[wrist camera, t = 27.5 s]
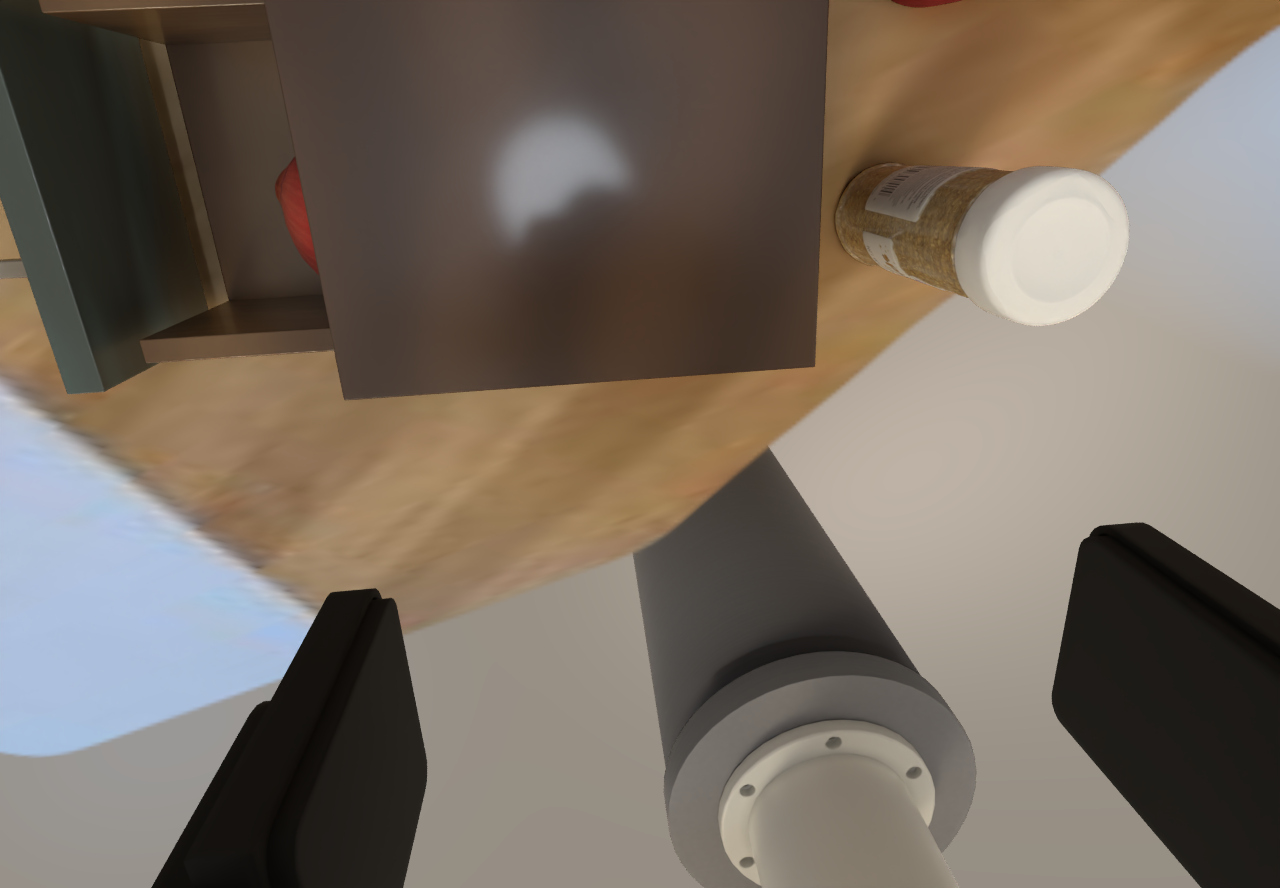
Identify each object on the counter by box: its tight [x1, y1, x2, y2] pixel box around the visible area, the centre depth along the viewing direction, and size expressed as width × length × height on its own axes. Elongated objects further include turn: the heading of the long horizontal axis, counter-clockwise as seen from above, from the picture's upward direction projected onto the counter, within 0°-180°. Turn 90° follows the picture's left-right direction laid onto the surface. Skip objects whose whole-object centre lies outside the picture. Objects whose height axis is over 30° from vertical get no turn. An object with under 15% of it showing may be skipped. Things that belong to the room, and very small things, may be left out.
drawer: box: [0, 0, 334, 394], centre depth 27 cm, size 19×13×8 cm, turn 93°
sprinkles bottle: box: [835, 163, 1130, 326], centre depth 28 cm, size 5×5×14 cm
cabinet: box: [264, 0, 829, 400], centre depth 28 cm, size 16×14×10 cm
